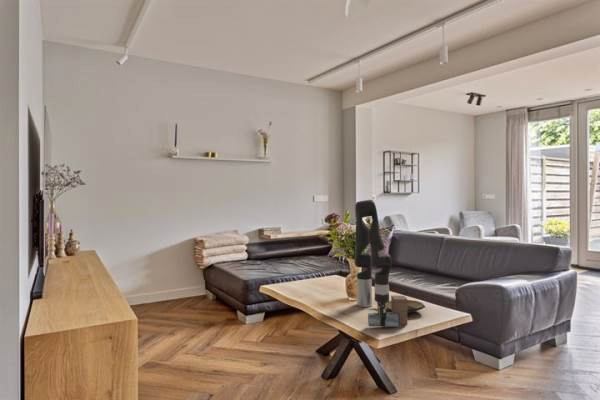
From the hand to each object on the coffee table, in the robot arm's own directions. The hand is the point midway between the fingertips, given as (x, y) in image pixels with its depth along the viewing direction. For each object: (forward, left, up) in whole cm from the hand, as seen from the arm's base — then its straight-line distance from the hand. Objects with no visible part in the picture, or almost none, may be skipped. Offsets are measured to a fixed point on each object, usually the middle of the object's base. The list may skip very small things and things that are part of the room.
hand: (382, 324), depth 207 cm
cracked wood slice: (-30, +17, -2) cm, 34 cm away
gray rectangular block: (0, +1, 0) cm, 1 cm away
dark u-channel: (-8, +8, -2) cm, 12 cm away
